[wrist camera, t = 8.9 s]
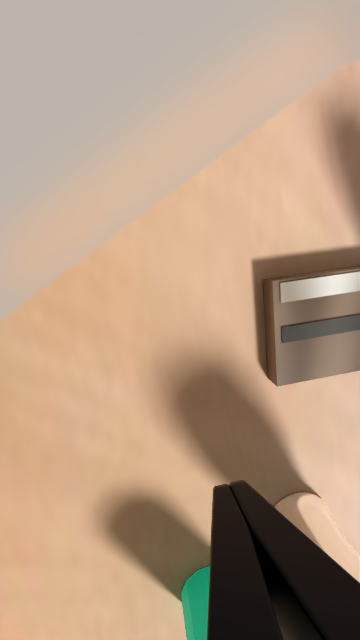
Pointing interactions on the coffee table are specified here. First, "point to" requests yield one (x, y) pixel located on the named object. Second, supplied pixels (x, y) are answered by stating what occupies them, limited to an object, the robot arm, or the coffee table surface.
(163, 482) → the coffee table surface
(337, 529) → the beer glass
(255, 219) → the coffee table surface
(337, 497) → the coffee table surface
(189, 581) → the candle
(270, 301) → the board
